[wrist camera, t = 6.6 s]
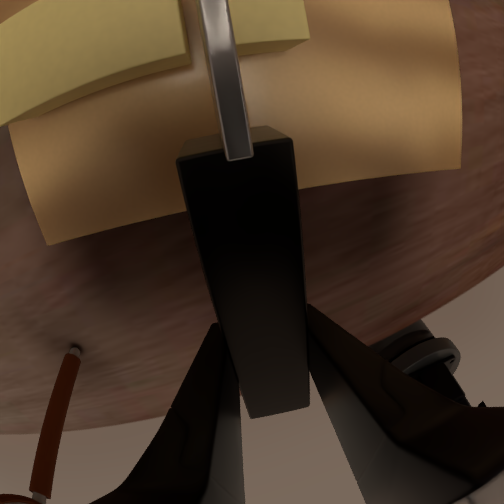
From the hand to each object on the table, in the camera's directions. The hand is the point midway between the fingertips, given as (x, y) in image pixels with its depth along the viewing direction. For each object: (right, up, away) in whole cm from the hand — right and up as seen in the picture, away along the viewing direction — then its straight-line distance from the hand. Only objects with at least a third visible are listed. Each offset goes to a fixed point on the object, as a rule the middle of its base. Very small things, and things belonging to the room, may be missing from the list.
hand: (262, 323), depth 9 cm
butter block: (-6, +10, -1) cm, 12 cm away
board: (-1, +11, +1) cm, 11 cm away
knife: (-1, +6, -2) cm, 6 cm away
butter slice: (-1, +12, 0) cm, 11 cm away
